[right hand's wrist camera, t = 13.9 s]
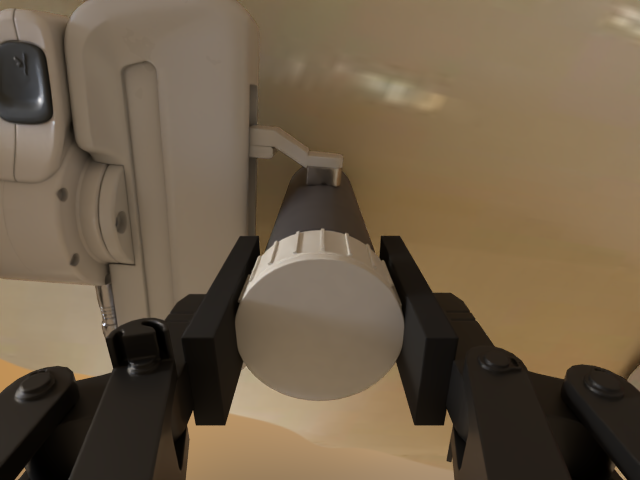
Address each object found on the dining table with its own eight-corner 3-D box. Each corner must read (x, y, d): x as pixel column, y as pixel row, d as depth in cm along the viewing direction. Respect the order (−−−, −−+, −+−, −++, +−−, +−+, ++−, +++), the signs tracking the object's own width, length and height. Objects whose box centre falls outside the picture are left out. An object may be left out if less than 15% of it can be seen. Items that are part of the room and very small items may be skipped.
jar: (350, 159, 25) (393, 247, 10) (353, 222, 26) (394, 374, 12) (284, 164, 25) (233, 258, 10) (291, 227, 27) (256, 383, 12)
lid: (233, 236, 12) (214, 267, 10) (388, 219, 11) (404, 246, 9) (261, 361, 14) (250, 409, 11) (395, 347, 13) (409, 395, 11)
